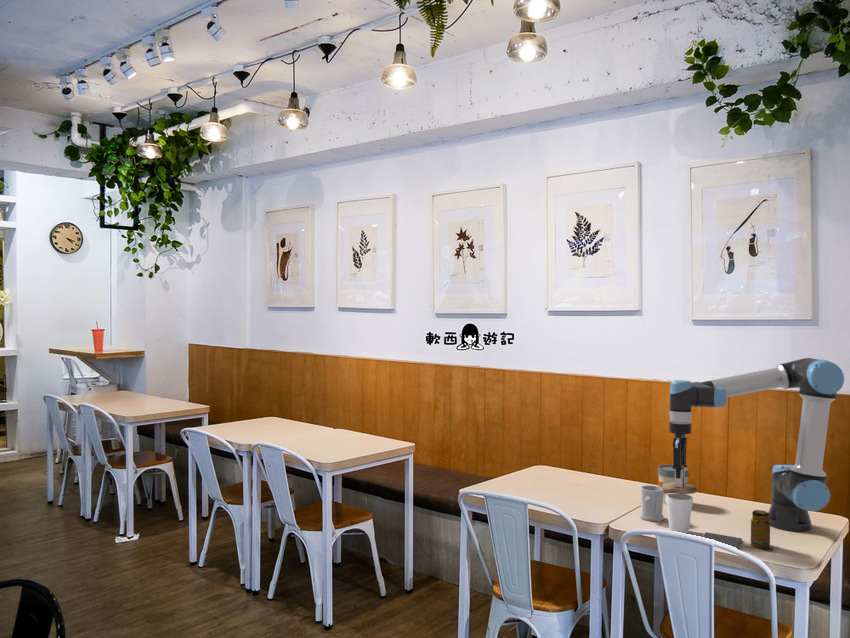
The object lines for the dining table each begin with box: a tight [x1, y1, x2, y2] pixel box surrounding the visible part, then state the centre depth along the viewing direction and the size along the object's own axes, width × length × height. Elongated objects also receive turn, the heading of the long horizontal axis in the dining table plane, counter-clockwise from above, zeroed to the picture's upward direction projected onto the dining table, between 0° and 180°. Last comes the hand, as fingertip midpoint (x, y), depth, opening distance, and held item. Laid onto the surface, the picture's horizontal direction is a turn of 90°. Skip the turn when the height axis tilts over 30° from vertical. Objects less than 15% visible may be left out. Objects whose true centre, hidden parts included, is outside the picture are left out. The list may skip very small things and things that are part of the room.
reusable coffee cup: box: [657, 464, 690, 506], centre depth 287 cm, size 13×13×15 cm
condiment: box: [746, 509, 779, 552], centre depth 234 cm, size 7×8×12 cm
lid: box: [662, 465, 698, 495], centre depth 249 cm, size 12×12×9 cm
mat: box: [702, 531, 743, 549], centre depth 238 cm, size 12×12×1 cm
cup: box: [639, 484, 664, 522], centre depth 264 cm, size 10×9×12 cm
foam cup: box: [666, 493, 694, 534], centre depth 249 cm, size 10×9×13 cm
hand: (679, 485), depth 249 cm, fingers closed on lid, 3 cm apart
